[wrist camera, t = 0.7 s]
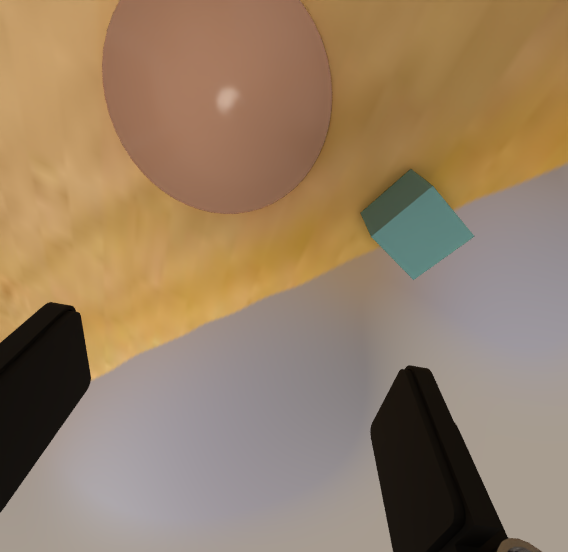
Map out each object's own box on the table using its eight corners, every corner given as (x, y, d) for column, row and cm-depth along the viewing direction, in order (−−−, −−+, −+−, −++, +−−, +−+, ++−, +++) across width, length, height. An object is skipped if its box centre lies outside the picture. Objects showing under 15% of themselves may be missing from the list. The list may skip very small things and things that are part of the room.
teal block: (410, 168, 30) (432, 186, 25) (447, 212, 32) (474, 236, 27) (360, 212, 33) (371, 236, 28) (396, 250, 35) (413, 279, 30)
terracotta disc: (285, -101, 22) (284, -110, 21) (355, 171, 31) (357, 174, 30) (61, 24, 26) (51, 21, 25) (179, 233, 35) (175, 238, 34)
